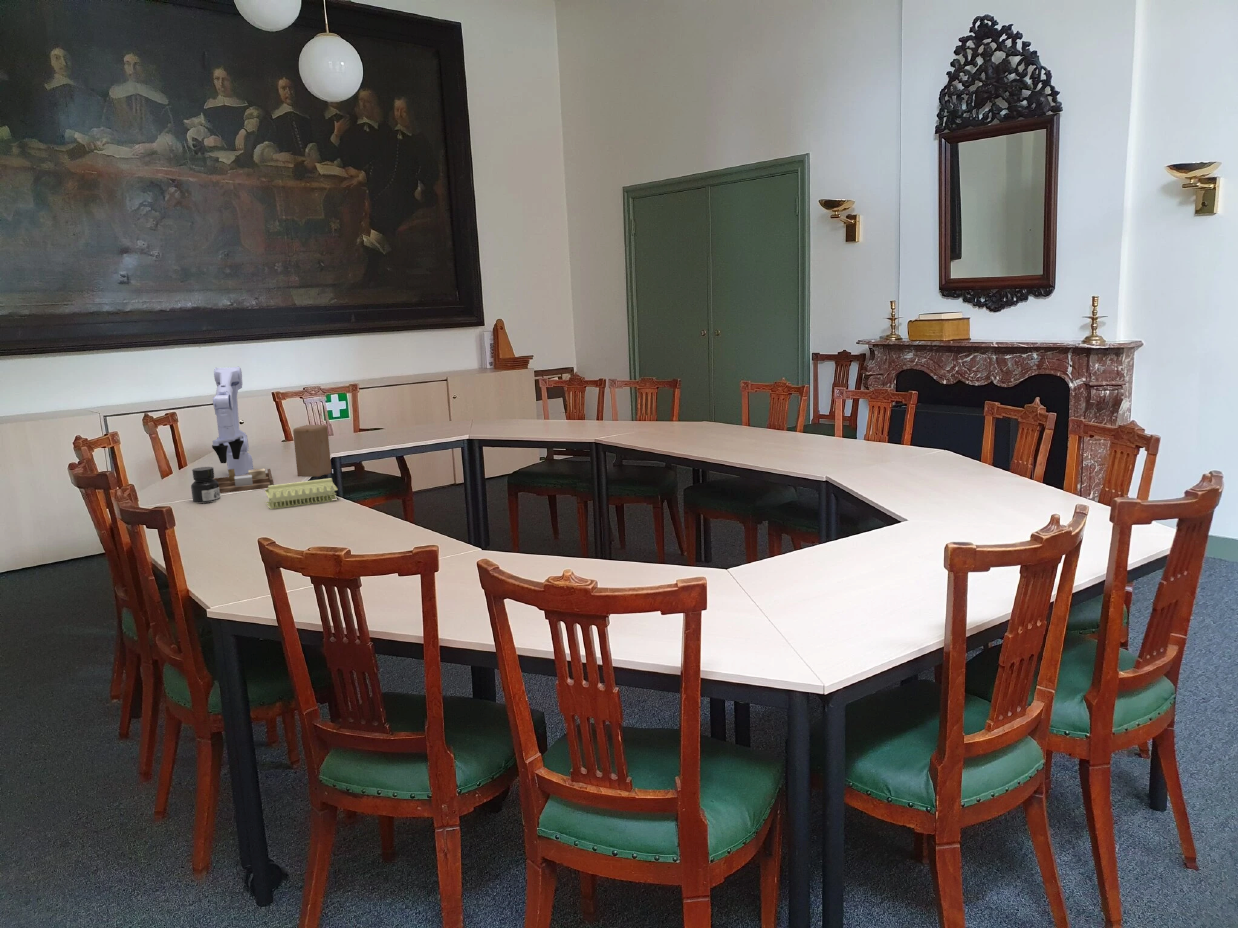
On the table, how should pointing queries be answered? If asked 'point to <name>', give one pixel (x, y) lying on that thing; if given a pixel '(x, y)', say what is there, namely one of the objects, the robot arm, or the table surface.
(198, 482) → the ink bottle
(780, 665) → the table surface
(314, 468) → the wooden block
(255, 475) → the birch block
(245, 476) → the grey block
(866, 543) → the table surface
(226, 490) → the lane shelf
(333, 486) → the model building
